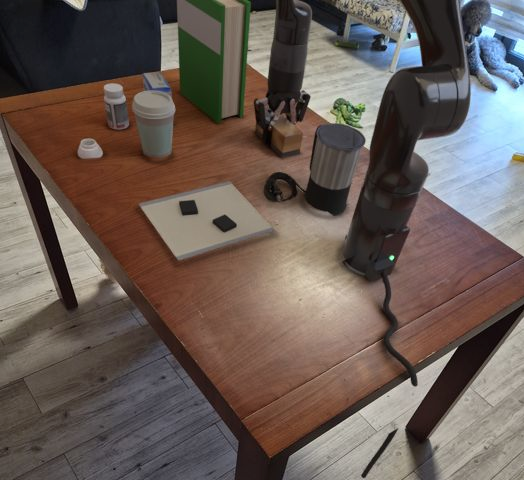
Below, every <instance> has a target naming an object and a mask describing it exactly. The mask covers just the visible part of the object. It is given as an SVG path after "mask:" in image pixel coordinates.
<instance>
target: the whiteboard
mask: <svg viewBox="0 0 524 480" xmlns="http://www.w3.org/2000/svg"><path fill="white" fill-rule="evenodd" d="M187 200H195V203H196V206H197V209H198V214H195V215H184V216H183V215H182V212H181V209H180V205H179V201H187ZM138 206H139V207H140V209H141V210H142V211H143V213H144V215H145V216H146V217H147V219H148V220H149V221H150V223H151V224H152V225H153V227H154V229H155V230H156V231H157V233H158V234H159V236H160V237H161V239H162V240H163V241H164V243H165V244H166V246H167V247H168V249H169V250H170V251H171V253H172V255H174V257H175V258H176V261H178V262H180V261H182V260H185V259H189V258H192V257H195V256H199V255H202V254H206V253H208V252H211V251H214V250H218V249H221V248H224V247H227V246H230V245H231V246H232V245H235V244H237V243H240V242H243V241H247V240H250V239H253V238H257V237H260V236H263V235H267V234H270V233H273V232H276V230H275V229H274V227H272V226H271V224H269V223H268V221H267V220H266V219H265V218H264V217H263V216H262V215H261V214H260V213H259V212H258V210H257V209H256V208H255V207H254V206H253V205H252V204H251V203H250V202H249V200H248V199H247V198H246V197H245V196H244V195H243V194H242V193H241V192H240V190H239V189H237V187H236V186H235V185H234V184H233V182H232V181H230V180H228V181H223V182H220V183H216V184H211V185H208V186H204V187H199V188H196V189H191V190H187V191H184V192H180V193H175V194H171V195H167V196H164V197H159V198H156V199H151V200H148V201H143V202H139V203H138ZM222 215H227V216H228V217H229V218H230V219H231V220H233V221H234V222H235V223H236V224H237V227H236V228H234V229H231V230H229V231H227V232H225V233H224V232H223V231H221V230H220V229H219V228H218V227H217V226H216V225H214V224H213V219H215V218H218V217H220V216H222Z"/></svg>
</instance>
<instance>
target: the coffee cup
mask: <svg viewBox="0 0 524 480" xmlns="http://www.w3.org/2000/svg"><path fill="white" fill-rule="evenodd" d="M131 110H132V112H133V113H134V117H135V121H136V126H137V131H138V135H139V139H140V144H141V148H142V152H143V153H142V154H143V156H147V157H148V158H153V159H163V158H167V157H169V156H170V155H172V150H173V149H172V147H173V132H174V117H175V113H176V106H175V103H174V101H173V97H172V98H171V96H170V95H168V94H166V93H164V92H161V91H154V90H149V91H144V90H143V91H140V92H138V93H136V94H135V95H134V97H133V101H132V104H131Z"/></svg>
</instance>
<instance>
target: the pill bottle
mask: <svg viewBox="0 0 524 480" xmlns="http://www.w3.org/2000/svg"><path fill="white" fill-rule="evenodd" d="M103 93H104V96H103V102H104V108H105V114H106V121H107V125H108V127H109V128H110V129H113V130H115V131H123V130H126V129H127V128H128V127H129V126H130V118H129V112H128V104H127V98H126V96H125V94H124V88H123V86H122V85H121V84H119V83H112V82H111V83H107V84H105V85H103Z"/></svg>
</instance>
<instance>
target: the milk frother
mask: <svg viewBox="0 0 524 480" xmlns="http://www.w3.org/2000/svg"><path fill="white" fill-rule="evenodd" d="M313 136H314V137H313V142H312V149H311V154H310V155H311V156H310V160H309V161H310V162H309V171H310V172H309V177H308V181H307V185H306V189H304V188H302V187H301V185H300V184H299V183H298V182H297V180H295V179H294V178H293V177H292V176H291V175H289V174H288V173H287V172H282V171H277V172H276V171H275V172H274V173H271V174H270V175H269V176H268V178H266V180H265V183H264V186H263V192H264V195H265V197H266V198H267V199H268V200H269V201H271V202H275V203H283V202H286V201H290V200H292V199H296V197H297V196H298V189H299V190H300V191H301V192H302V193H303V194H304V200H305V202H306V203H307V204H308V205H309V206H310V207H312V208H313V209H315V210H318V211H321V212H325V213H328V214H329V215H332V217H336V216H340V215H341V214H344V212H345V211H346V209H347V202H348V198H349V195H350V190H351V187H352V183H353V180H354V177H355V174H356V170H357V167H358V164H359V160H360V157H361V155H362V150H363V147H364V146H365V145H366V141H367V140H366V139H367V138H366V137H365V135H364V134H363V132H361V130H358V129H357V128H355V127H353V126H351V125H348V124H344V123H341V122H339V123H338V122H337V123H334V122H330V123H325V124H320V125H318V126H317V127H316V129H315V132H314V135H313ZM279 180H280V181H284V182H286V183H287V184H288V185H289V186H290V190H291V193H290V195H289V196H288V197H286V198H281V197H282V195H283V193H284V192H283V191H282V190H281V189H280V186H279V185H278V184H277V181H279Z"/></svg>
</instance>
